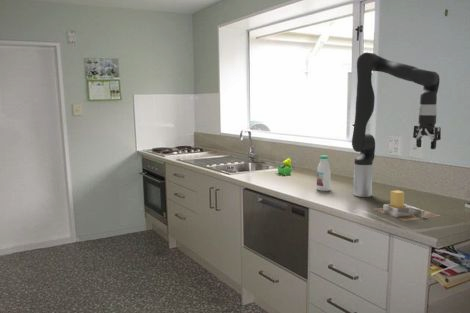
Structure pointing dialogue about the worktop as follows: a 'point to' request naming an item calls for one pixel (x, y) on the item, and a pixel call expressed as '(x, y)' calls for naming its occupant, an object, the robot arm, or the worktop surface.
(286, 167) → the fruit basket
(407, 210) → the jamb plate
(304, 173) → the worktop surface
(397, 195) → the block
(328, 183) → the milk bottle
